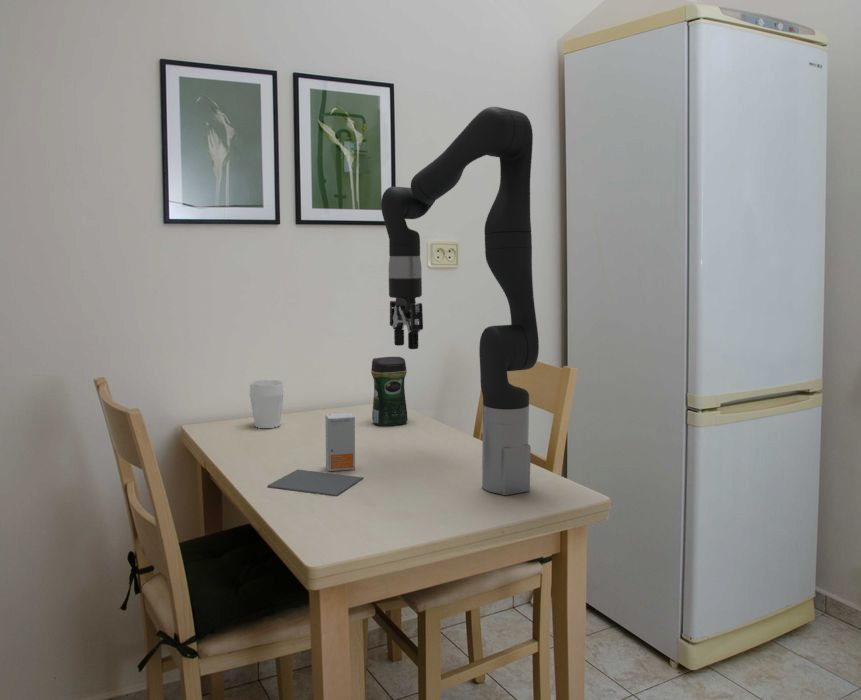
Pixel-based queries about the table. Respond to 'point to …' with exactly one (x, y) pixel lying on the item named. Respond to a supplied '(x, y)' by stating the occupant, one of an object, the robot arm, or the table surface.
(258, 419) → the cup
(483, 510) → the table surface
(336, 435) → the skincare box
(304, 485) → the mat
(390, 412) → the coffee jar
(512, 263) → the robot arm
